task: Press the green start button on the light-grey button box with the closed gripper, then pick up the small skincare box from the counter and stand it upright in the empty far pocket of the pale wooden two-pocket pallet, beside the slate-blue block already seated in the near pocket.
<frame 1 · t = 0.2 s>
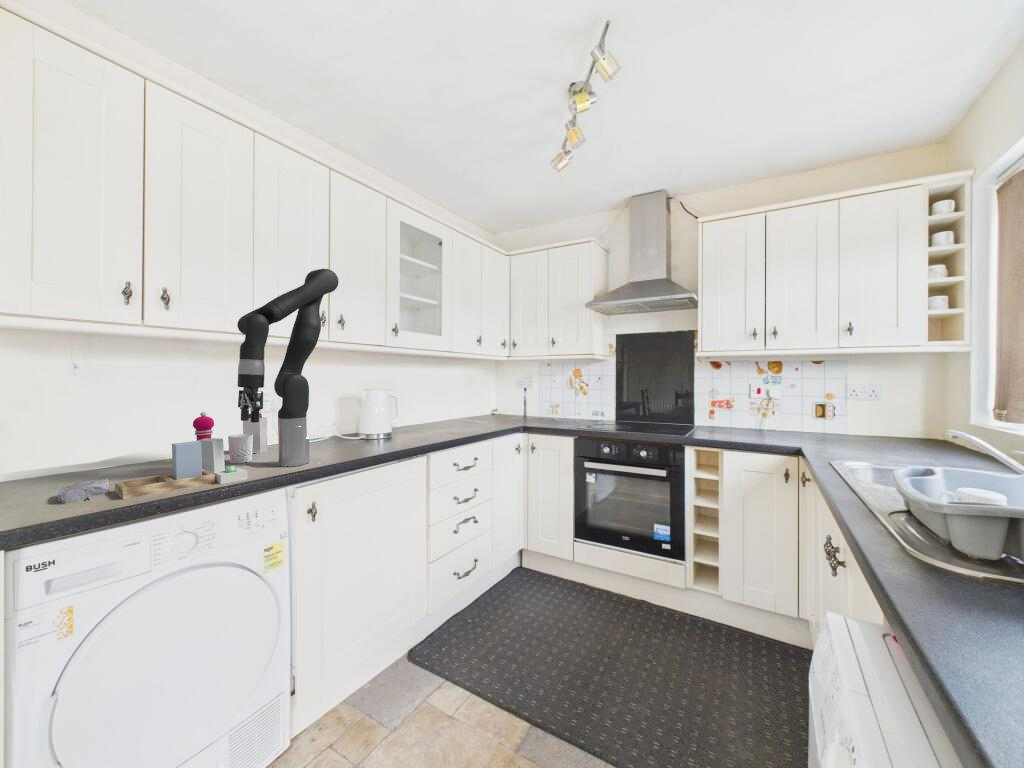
hand: (249, 421, 137), 17 cm above the countertop, tool pointing down, fingers open, 8 cm apart
seated block: (187, 483, 120), point 1 cm above the countertop, touching pallet
button box: (230, 482, 124), on the countertop
white cup: (241, 462, 153), on the countertop
stone block: (83, 498, 110), on the countertop
soap dispenser: (254, 453, 171), on the countertop
pallet: (167, 490, 116), on the countertop
skincare box: (211, 476, 133), on the countertop
start button: (230, 470, 124), point 4 cm above the countertop, slide at 0.0 cm
pepper mill: (204, 469, 143), on the countertop
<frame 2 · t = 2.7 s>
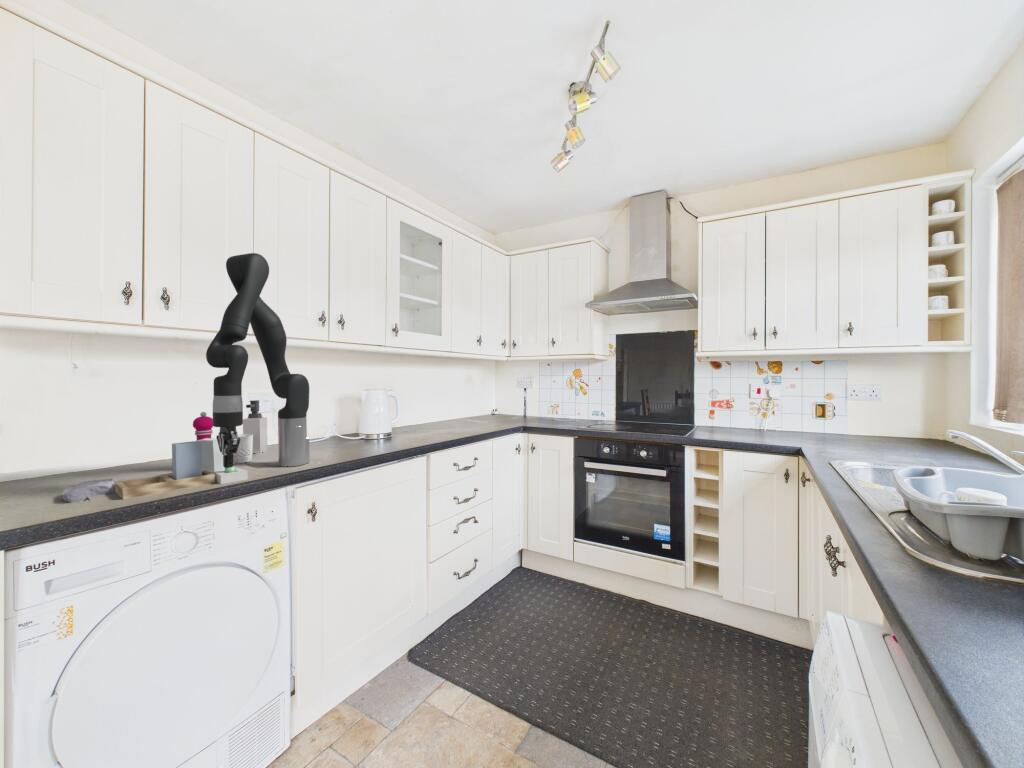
hand: (228, 467, 124), 5 cm above the countertop, tool pointing down, fingers closed
start button: (230, 470, 124), point 4 cm above the countertop, slide at 0.1 cm, touching gripper
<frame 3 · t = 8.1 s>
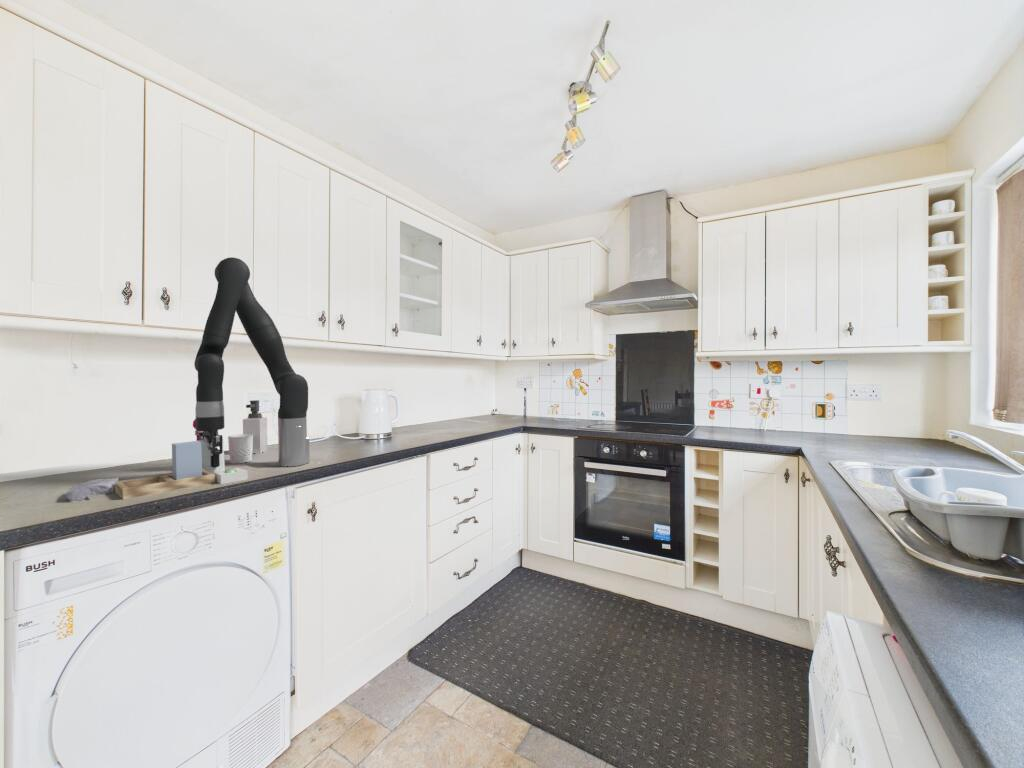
hand: (211, 465, 133), 3 cm above the countertop, tool pointing down, fingers closed on skincare box, 7 cm apart
skincare box: (211, 476, 133), on the countertop, touching gripper
start button: (230, 473, 124), point 3 cm above the countertop, slide at 1.1 cm
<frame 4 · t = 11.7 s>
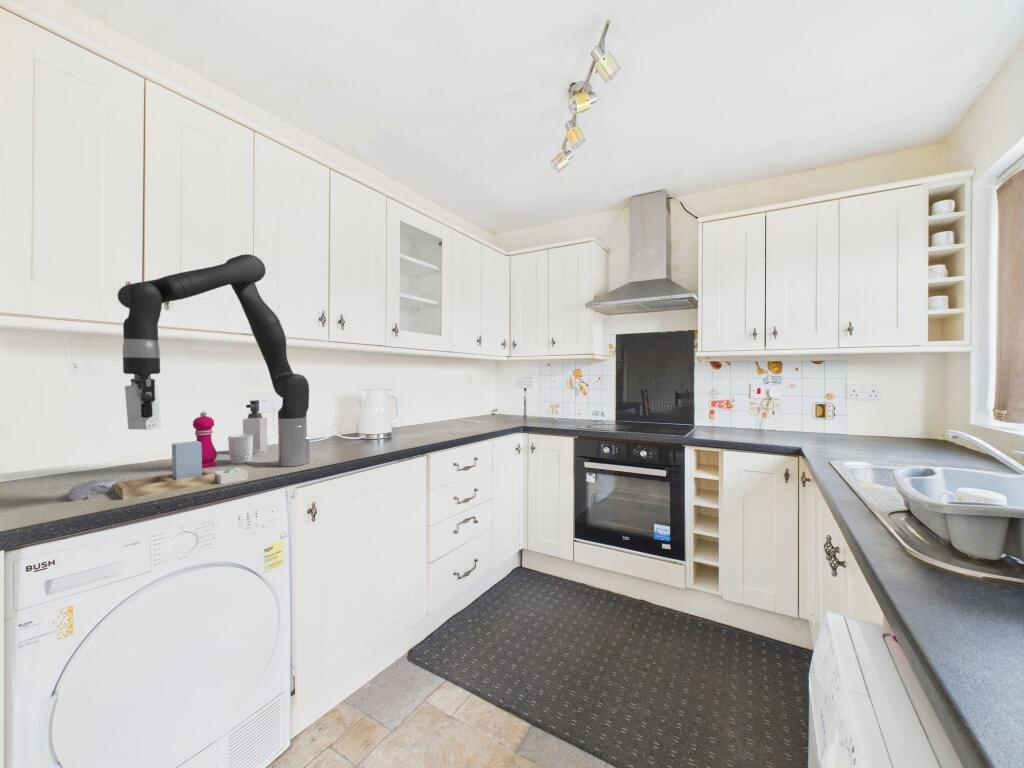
hand: (143, 416, 112), 22 cm above the countertop, tool pointing down, fingers closed on skincare box, 7 cm apart
skincare box: (143, 429, 112), point 18 cm above the countertop, touching gripper
when the fingers open (6 cm above the countertop, at t = 15.2 s): skincare box drops 1 cm, resting on pallet.
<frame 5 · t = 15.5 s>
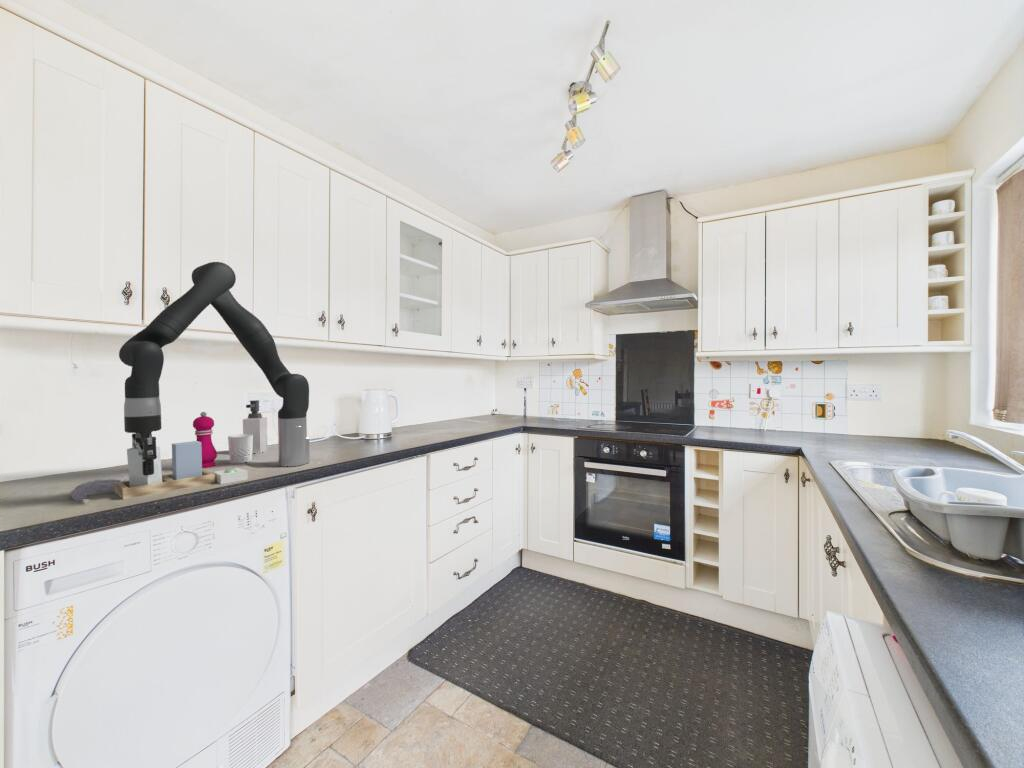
hand: (144, 472, 112), 6 cm above the countertop, tool pointing down, fingers open, 8 cm apart
skincare box: (145, 491, 112), point 1 cm above the countertop, touching pallet
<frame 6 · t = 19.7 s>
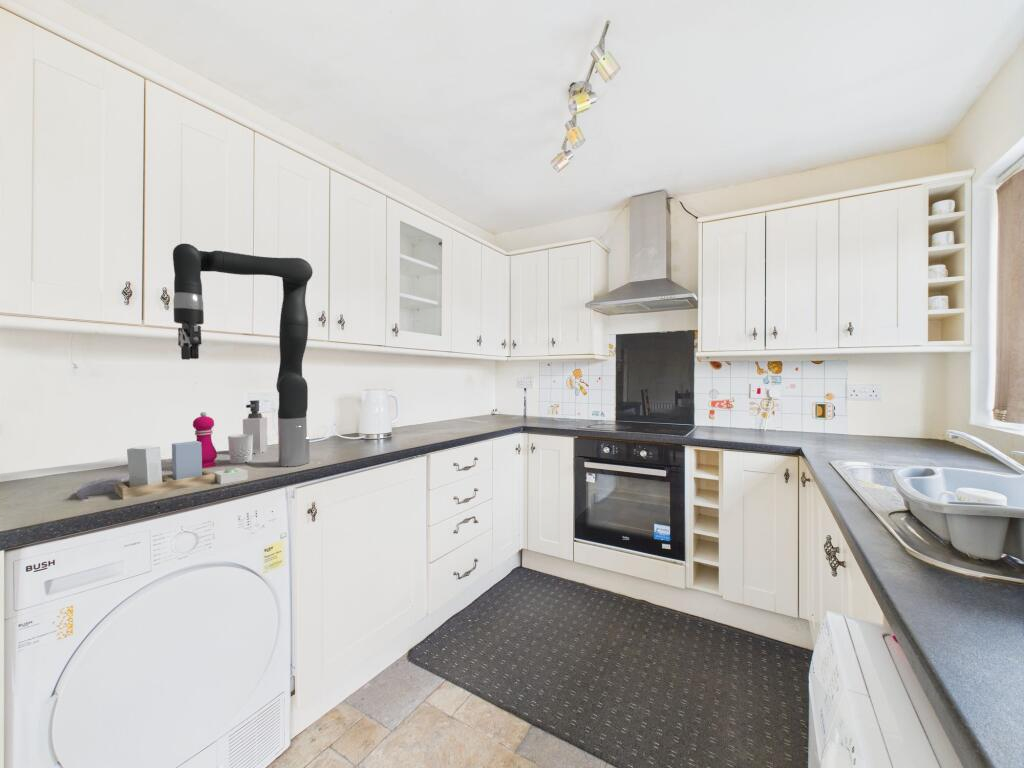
hand: (189, 359, 131), 38 cm above the countertop, tool pointing down, fingers open, 8 cm apart
stone block: (103, 494, 114), on the countertop
everything else where it was.
at the end: skincare box 0.2 cm from the target spot, point 0.8 cm above the countertop; skincare box tilted 0°; start button slide at 1.1 cm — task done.
